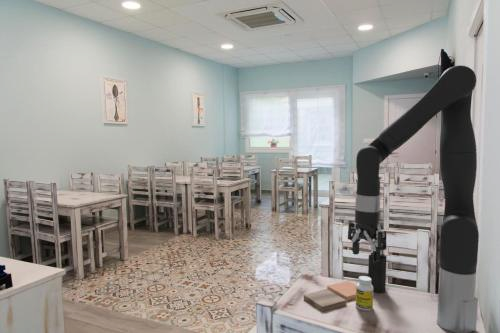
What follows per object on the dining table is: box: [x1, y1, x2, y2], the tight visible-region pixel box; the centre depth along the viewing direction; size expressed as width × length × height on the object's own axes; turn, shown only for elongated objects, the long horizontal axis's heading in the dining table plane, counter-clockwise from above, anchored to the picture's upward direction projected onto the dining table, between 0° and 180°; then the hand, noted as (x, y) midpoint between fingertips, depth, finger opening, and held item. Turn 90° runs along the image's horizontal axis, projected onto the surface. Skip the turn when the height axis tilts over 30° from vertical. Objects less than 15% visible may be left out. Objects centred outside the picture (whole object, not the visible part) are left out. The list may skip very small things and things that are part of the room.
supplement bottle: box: [355, 275, 374, 311], centre depth 117 cm, size 5×5×10 cm
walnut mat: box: [303, 288, 347, 312], centre depth 122 cm, size 10×10×2 cm
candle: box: [367, 222, 387, 294], centre depth 130 cm, size 5×5×25 cm
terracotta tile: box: [326, 280, 357, 302], centre depth 129 cm, size 10×10×2 cm
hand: (365, 257), depth 117 cm, fingers open, 8 cm apart
